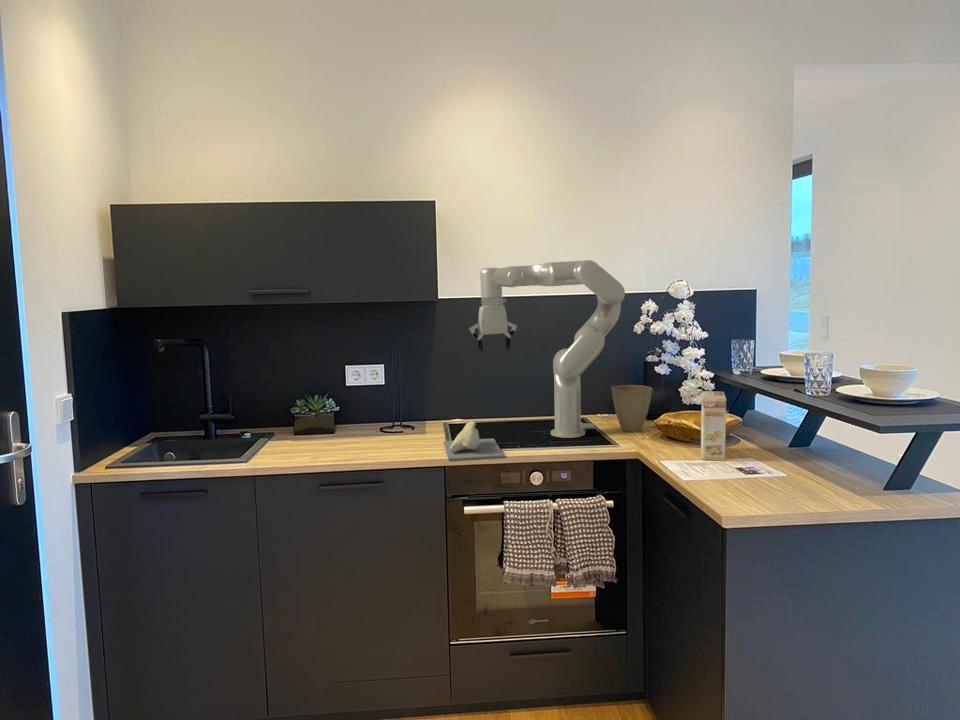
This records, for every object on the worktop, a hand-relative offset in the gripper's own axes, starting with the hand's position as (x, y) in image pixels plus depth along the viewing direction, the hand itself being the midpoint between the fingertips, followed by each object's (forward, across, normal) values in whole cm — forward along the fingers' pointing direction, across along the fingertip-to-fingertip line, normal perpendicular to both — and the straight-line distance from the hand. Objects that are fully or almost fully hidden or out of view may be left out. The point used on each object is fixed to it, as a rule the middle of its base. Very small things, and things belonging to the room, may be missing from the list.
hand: (494, 349), depth 250 cm
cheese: (+31, +15, +16) cm, 38 cm away
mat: (+32, +12, +17) cm, 38 cm away
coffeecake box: (+34, -62, +43) cm, 82 cm away
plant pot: (+34, -50, +2) cm, 61 cm away
